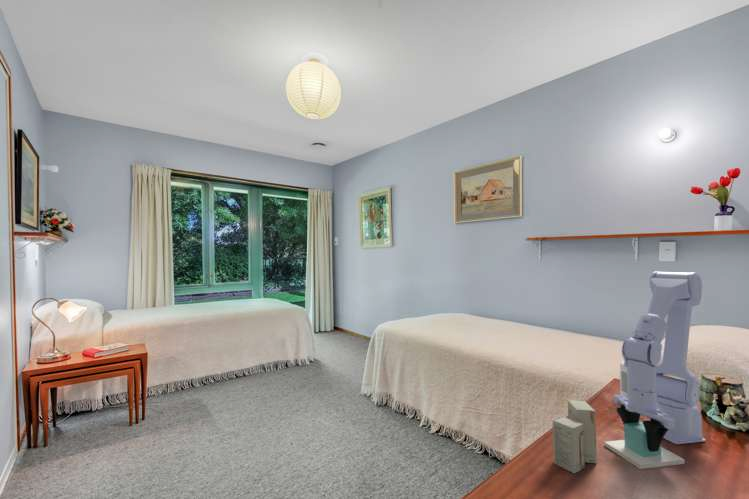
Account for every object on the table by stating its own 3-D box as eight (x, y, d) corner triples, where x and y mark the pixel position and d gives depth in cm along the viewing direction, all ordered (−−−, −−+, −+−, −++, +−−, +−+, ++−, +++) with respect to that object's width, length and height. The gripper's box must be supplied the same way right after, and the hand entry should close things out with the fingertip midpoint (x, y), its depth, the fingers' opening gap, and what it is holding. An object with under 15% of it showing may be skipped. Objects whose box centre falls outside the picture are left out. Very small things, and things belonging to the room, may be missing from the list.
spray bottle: (626, 400, 117) (626, 346, 118) (616, 393, 124) (615, 341, 124) (649, 402, 116) (648, 347, 116) (637, 394, 123) (637, 342, 123)
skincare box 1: (585, 468, 80) (585, 424, 80) (574, 474, 78) (573, 429, 78) (563, 457, 85) (563, 415, 85) (552, 462, 82) (551, 419, 83)
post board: (644, 441, 92) (644, 426, 92) (684, 463, 82) (684, 446, 82) (604, 445, 90) (604, 429, 90) (640, 469, 80) (640, 451, 80)
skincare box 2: (597, 464, 82) (596, 411, 82) (577, 462, 83) (576, 410, 83) (586, 449, 88) (586, 400, 88) (567, 447, 89) (567, 399, 89)
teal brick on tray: (641, 443, 89) (641, 421, 89) (661, 454, 84) (660, 431, 84) (624, 445, 88) (624, 423, 88) (643, 457, 83) (642, 433, 83)
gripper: (603, 379, 93) (604, 431, 92) (656, 401, 78) (657, 463, 78) (626, 377, 94) (627, 428, 93) (682, 399, 79) (683, 460, 79)
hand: (642, 444), depth 86 cm, fingers closed on teal brick on tray, 5 cm apart
